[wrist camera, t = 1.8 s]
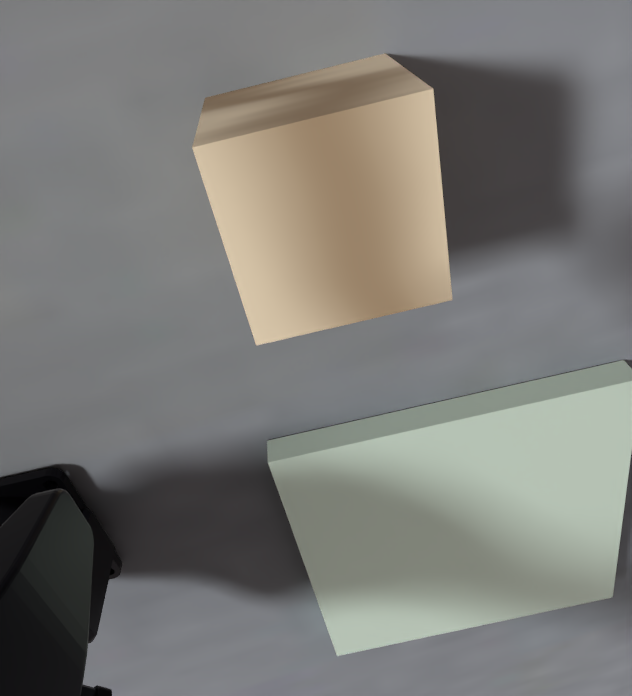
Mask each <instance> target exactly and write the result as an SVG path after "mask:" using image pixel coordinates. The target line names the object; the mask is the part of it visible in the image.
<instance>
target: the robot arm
mask: <svg viewBox="0 0 632 696" xmlns="http://www.w3.org/2000/svg"><path fill="white" fill-rule="evenodd" d="M50 481H54V482H50ZM121 568H122V562H121V560H120V558H119V557H118V555H117V554H116V552H115V547H114V546H113V544H112V542H111V541H110V539H109V538H108V536H107V535H106V533H105V531H104V530H103V528H102V527H101V525H100V524H99V522H98V520H97V519H96V517H95V516H94V514H93V513H92V512H91V511H90V510H89V509H88V508H87V507H86V505H85V504H84V502H83V501H82V499H81V498H80V496H79V494H78V493H77V491H76V490H75V488H74V487H73V485H72V484H71V482H70V480H69V479H68V477H67V476H66V474H65V473H64V472H63V471H61V470H59V469H55V468H48V469H43V470H39V471H34V472H30V473H26V474H21V475H17V476H12V477H8V478H4V479H0V696H112V691H111V689H108V688H104V687H101V686H95V687H94V688H93V687H90V686H86V685H82V684H83V678H84V671H85V664H86V657H87V648H88V643H91V642H92V641H93V640H94V638H95V637H96V635H97V631H98V627H99V622H100V617H101V613H102V608H103V603H104V599H105V594H106V589H107V585H108V580H109V579H113V578H116V577H118V576H119V575H120V572H121Z"/></svg>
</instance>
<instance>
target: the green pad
mask: <svg viewBox="0 0 632 696" xmlns="http://www.w3.org/2000/svg"><path fill="white" fill-rule="evenodd" d="M631 452H632V369H631V368H630V366H629V365H628V364H627V363H626V362H625V361H624V360H622V361H617V362H613V363H609V364H604V365H600V366H595V367H591V368H586V369H582V370H578V371H573V372H569V373H564V374H560V375H556V376H551V377H547V378H542V379H538V380H533V381H529V382H525V383H520V384H516V385H511V386H507V387H502V388H498V389H494V390H489V391H485V392H480V393H476V394H471V395H467V396H463V397H458V398H454V399H449V400H445V401H441V402H436V403H432V404H427V405H423V406H418V407H414V408H410V409H405V410H401V411H396V412H392V413H387V414H383V415H379V416H374V417H370V418H365V419H361V420H356V421H352V422H348V423H343V424H339V425H334V426H330V427H326V428H321V429H317V430H312V431H308V432H303V433H299V434H295V435H290V436H286V437H281V438H277V439H272V440H268V441H267V454H268V464H269V467H270V470H271V473H272V476H273V478H274V481H275V484H276V487H277V489H278V492H279V495H280V498H281V501H282V503H283V506H284V509H285V512H286V515H287V517H288V520H289V523H290V526H291V528H292V531H293V534H294V537H295V540H296V542H297V545H298V548H299V551H300V554H301V556H302V559H303V562H304V565H305V567H306V570H307V573H308V576H309V579H310V581H311V584H312V587H313V590H314V593H315V595H316V598H317V601H318V604H319V606H320V609H321V612H322V615H323V618H324V620H325V623H326V626H327V629H328V632H329V634H330V637H331V640H332V643H333V646H334V648H335V651H336V654H337V656H340V655H344V654H349V653H354V652H358V651H363V650H368V649H373V648H377V647H382V646H387V645H391V644H396V643H401V642H405V641H410V640H415V639H419V638H424V637H429V636H434V635H438V634H443V633H448V632H452V631H457V630H462V629H466V628H471V627H476V626H481V625H485V624H490V623H495V622H499V621H504V620H509V619H513V618H518V617H523V616H528V615H532V614H537V613H542V612H546V611H551V610H556V609H560V608H565V607H570V606H574V605H579V604H584V603H589V602H593V601H598V600H603V599H607V598H612V597H613V591H614V583H615V575H616V568H617V560H618V552H619V544H620V537H621V529H622V521H623V514H624V506H625V498H626V490H627V483H628V475H629V467H630V460H631Z"/></svg>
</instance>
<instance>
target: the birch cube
mask: <svg viewBox="0 0 632 696" xmlns="http://www.w3.org/2000/svg"><path fill="white" fill-rule="evenodd" d="M192 148H193V151H194V154H195V157H196V160H197V164H198V167H199V170H200V173H201V176H202V179H203V182H204V185H205V188H206V191H207V194H208V198H209V201H210V204H211V207H212V210H213V213H214V216H215V219H216V222H217V225H218V229H219V232H220V235H221V238H222V241H223V244H224V247H225V250H226V253H227V256H228V259H229V263H230V266H231V269H232V272H233V275H234V278H235V281H236V284H237V287H238V290H239V293H240V297H241V300H242V303H243V306H244V309H245V312H246V315H247V318H248V321H249V324H250V327H251V331H252V334H253V337H254V340H255V343H256V345H261V344H265V343H269V342H274V341H278V340H282V339H287V338H291V337H295V336H300V335H304V334H308V333H312V332H317V331H321V330H325V329H330V328H334V327H338V326H343V325H347V324H351V323H355V322H360V321H364V320H368V319H373V318H377V317H381V316H386V315H390V314H394V313H398V312H403V311H407V310H411V309H416V308H420V307H424V306H429V305H433V304H437V303H442V302H446V301H450V300H452V290H451V279H450V268H449V257H448V246H447V235H446V224H445V213H444V201H443V190H442V179H441V168H440V157H439V146H438V135H437V124H436V113H435V102H434V91H433V88H432V87H430V86H429V85H428V84H426V83H425V82H424V81H422V80H421V79H419V78H418V77H417V76H415V75H414V74H413V73H411V72H410V71H409V70H407V69H406V68H404V67H403V66H402V65H400V64H399V63H398V62H396V61H395V60H393V59H392V58H391V57H389V56H388V55H387V54H381V55H377V56H373V57H369V58H365V59H361V60H357V61H353V62H349V63H345V64H340V65H336V66H332V67H328V68H324V69H320V70H316V71H312V72H308V73H304V74H300V75H296V76H292V77H288V78H284V79H280V80H276V81H272V82H267V83H263V84H259V85H255V86H251V87H247V88H243V89H239V90H235V91H231V92H227V93H223V94H219V95H215V96H211V97H207V98H205V101H204V104H203V108H202V112H201V116H200V120H199V124H198V128H197V131H196V135H195V139H194V143H193V147H192Z"/></svg>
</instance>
